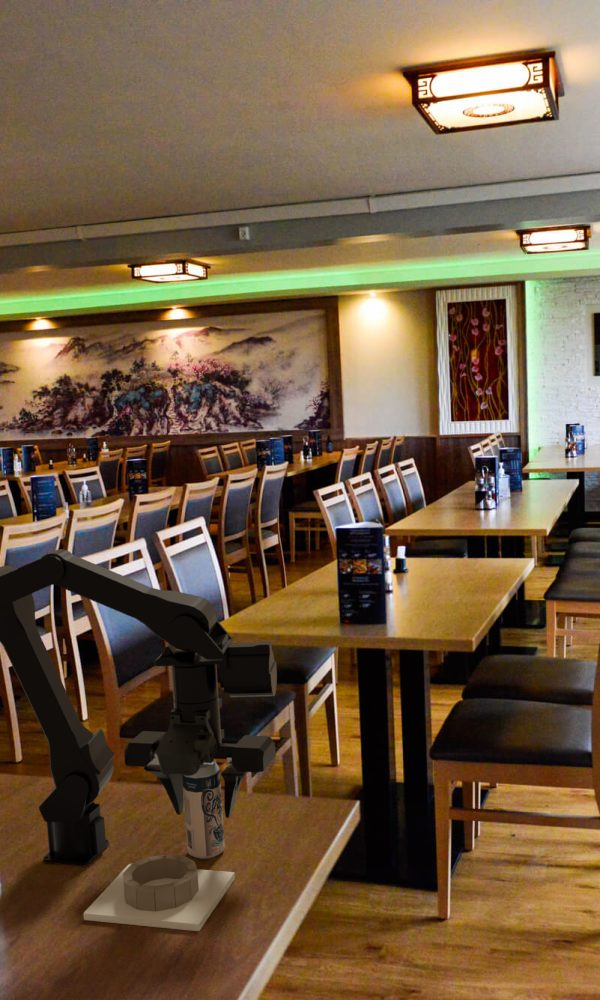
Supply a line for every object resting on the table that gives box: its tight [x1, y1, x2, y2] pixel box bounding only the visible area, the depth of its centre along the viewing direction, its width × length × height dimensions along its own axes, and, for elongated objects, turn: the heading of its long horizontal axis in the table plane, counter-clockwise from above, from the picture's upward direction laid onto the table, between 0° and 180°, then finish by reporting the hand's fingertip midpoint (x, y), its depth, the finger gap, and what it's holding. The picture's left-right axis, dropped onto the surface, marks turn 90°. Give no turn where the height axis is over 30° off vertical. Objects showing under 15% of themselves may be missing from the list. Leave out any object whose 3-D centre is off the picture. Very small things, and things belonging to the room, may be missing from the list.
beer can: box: [182, 759, 226, 860], centre depth 125 cm, size 5×5×12 cm
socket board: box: [83, 854, 236, 932], centre depth 114 cm, size 14×12×3 cm
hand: (204, 815), depth 125 cm, fingers open, 6 cm apart
